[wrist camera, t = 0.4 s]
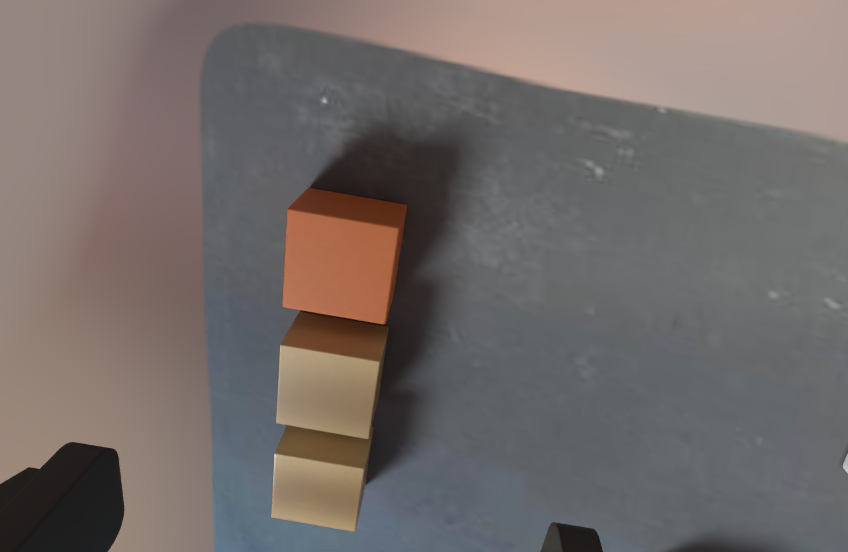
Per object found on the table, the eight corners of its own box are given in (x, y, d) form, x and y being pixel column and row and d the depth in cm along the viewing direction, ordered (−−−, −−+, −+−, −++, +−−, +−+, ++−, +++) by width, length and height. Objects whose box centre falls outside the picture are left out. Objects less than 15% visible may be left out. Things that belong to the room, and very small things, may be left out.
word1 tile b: (299, 310, 27) (279, 344, 24) (389, 326, 27) (380, 361, 24) (294, 384, 29) (275, 423, 26) (378, 399, 29) (368, 439, 26)
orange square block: (308, 187, 25) (286, 207, 22) (407, 204, 25) (399, 227, 22) (301, 277, 26) (281, 307, 24) (394, 293, 26) (385, 325, 24)
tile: (292, 412, 30) (274, 453, 27) (374, 426, 30) (364, 468, 27) (288, 473, 32) (271, 517, 29) (365, 486, 32) (355, 532, 29)
